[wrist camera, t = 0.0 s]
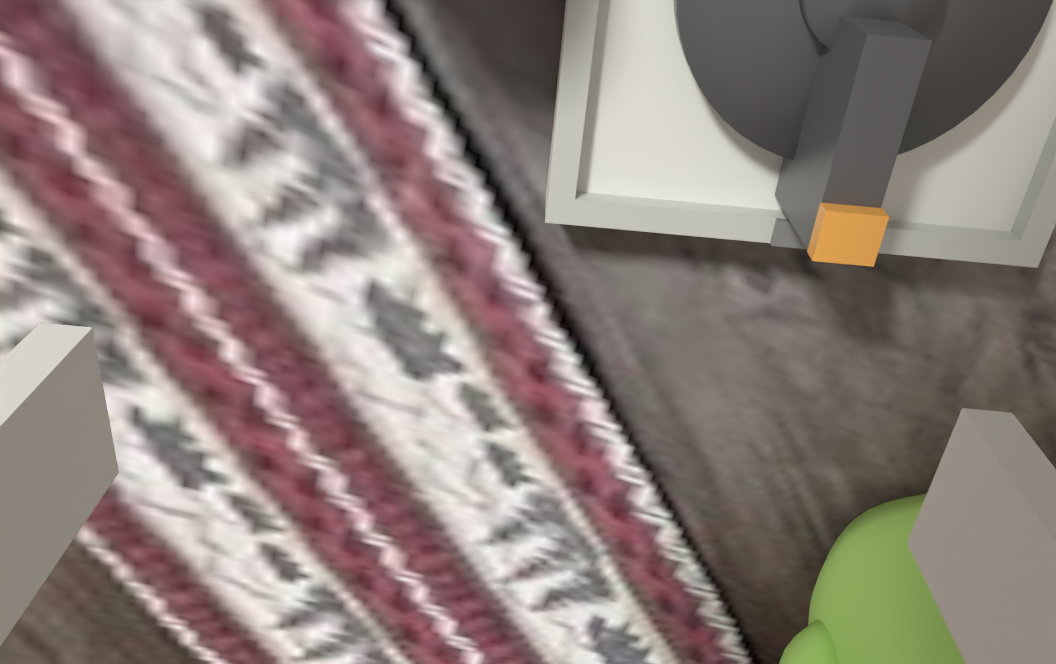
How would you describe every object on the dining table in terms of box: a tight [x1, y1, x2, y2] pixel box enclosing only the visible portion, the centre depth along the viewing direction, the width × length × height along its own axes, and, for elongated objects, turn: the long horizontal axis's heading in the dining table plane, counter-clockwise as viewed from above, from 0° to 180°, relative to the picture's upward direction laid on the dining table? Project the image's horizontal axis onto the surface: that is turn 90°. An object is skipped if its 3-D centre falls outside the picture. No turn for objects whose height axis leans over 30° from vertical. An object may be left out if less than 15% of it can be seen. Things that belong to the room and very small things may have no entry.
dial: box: [674, 0, 1053, 267], centre depth 32 cm, size 16×14×7 cm
